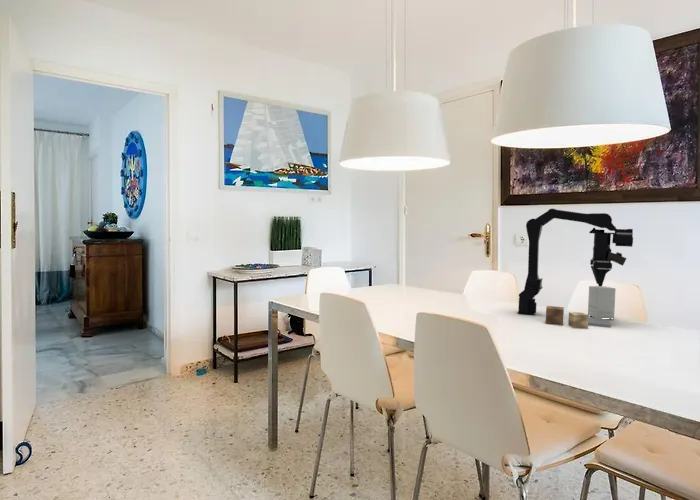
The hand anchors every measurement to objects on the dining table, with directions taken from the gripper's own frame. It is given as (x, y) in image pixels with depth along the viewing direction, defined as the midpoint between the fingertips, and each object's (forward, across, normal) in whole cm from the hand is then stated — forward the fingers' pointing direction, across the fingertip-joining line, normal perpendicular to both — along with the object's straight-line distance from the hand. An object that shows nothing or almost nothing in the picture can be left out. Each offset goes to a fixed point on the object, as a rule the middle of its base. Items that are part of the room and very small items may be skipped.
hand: (599, 285), depth 183 cm
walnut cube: (+14, -14, +15) cm, 25 cm away
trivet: (+14, -6, +2) cm, 16 cm away
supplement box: (+14, +8, -2) cm, 16 cm away
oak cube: (+14, -17, +7) cm, 24 cm away
